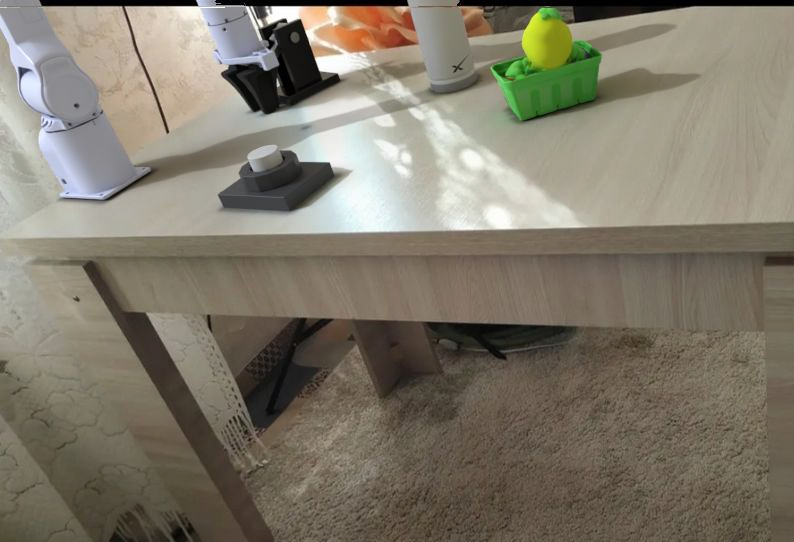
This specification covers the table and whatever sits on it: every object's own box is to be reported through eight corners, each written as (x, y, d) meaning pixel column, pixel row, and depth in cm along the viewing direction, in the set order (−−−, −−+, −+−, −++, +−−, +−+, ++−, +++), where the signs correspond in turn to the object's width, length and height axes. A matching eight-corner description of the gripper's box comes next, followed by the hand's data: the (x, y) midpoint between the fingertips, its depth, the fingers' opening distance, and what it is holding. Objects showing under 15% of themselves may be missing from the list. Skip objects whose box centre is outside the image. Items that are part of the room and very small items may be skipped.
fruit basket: (588, 80, 92) (573, -19, 86) (614, 102, 85) (600, -5, 79) (497, 108, 92) (475, 10, 85) (516, 132, 84) (494, 27, 78)
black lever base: (292, 105, 111) (265, 35, 105) (267, 100, 115) (240, 34, 110) (340, 81, 115) (318, 13, 109) (315, 77, 120) (291, 12, 114)
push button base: (223, 208, 85) (210, 179, 83) (270, 174, 91) (258, 146, 89) (290, 211, 81) (277, 181, 78) (335, 176, 86) (324, 146, 84)
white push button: (247, 173, 83) (240, 158, 82) (267, 159, 86) (261, 144, 85) (270, 174, 82) (263, 159, 81) (290, 159, 84) (284, 144, 83)
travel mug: (474, 89, 99) (433, -83, 87) (426, 96, 101) (380, -71, 89) (484, 71, 104) (446, -94, 92) (438, 79, 106) (395, -82, 94)
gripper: (279, 8, 101) (316, 107, 109) (227, 7, 111) (265, 98, 119) (234, 28, 98) (276, 128, 106) (184, 25, 107) (226, 117, 116)
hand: (268, 114), depth 112 cm, fingers closed on flush lever, 3 cm apart
